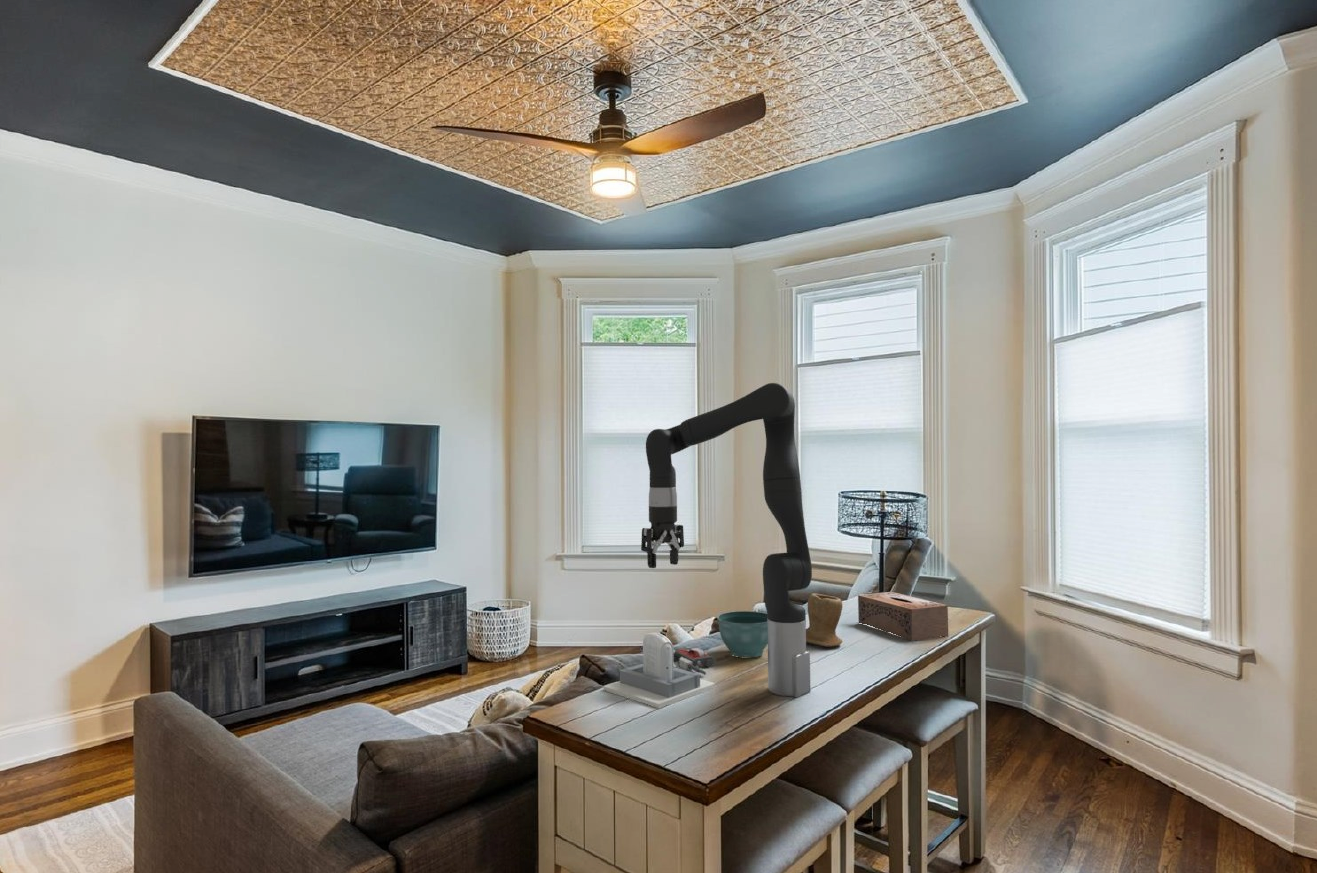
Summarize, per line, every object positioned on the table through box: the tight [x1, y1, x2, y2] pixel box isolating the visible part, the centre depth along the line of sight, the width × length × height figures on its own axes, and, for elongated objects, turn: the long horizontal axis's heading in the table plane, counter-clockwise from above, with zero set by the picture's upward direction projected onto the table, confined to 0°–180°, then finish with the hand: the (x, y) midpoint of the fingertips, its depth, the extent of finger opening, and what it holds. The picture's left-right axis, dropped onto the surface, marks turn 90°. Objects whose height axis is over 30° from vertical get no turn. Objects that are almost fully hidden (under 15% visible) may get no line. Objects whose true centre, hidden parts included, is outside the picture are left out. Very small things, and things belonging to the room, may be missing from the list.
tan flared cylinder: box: [806, 592, 843, 647], centre depth 213 cm, size 15×12×15 cm
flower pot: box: [716, 610, 768, 659], centre depth 202 cm, size 16×16×11 cm
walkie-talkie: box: [673, 646, 714, 676], centre depth 191 cm, size 9×4×20 cm
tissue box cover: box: [857, 591, 949, 642], centre depth 229 cm, size 26×14×10 cm, turn 22°
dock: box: [602, 663, 716, 709], centre depth 172 cm, size 19×20×4 cm
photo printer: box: [642, 631, 675, 681], centre depth 172 cm, size 10×4×12 cm, turn 29°
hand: (663, 566), depth 184 cm, fingers open, 8 cm apart
